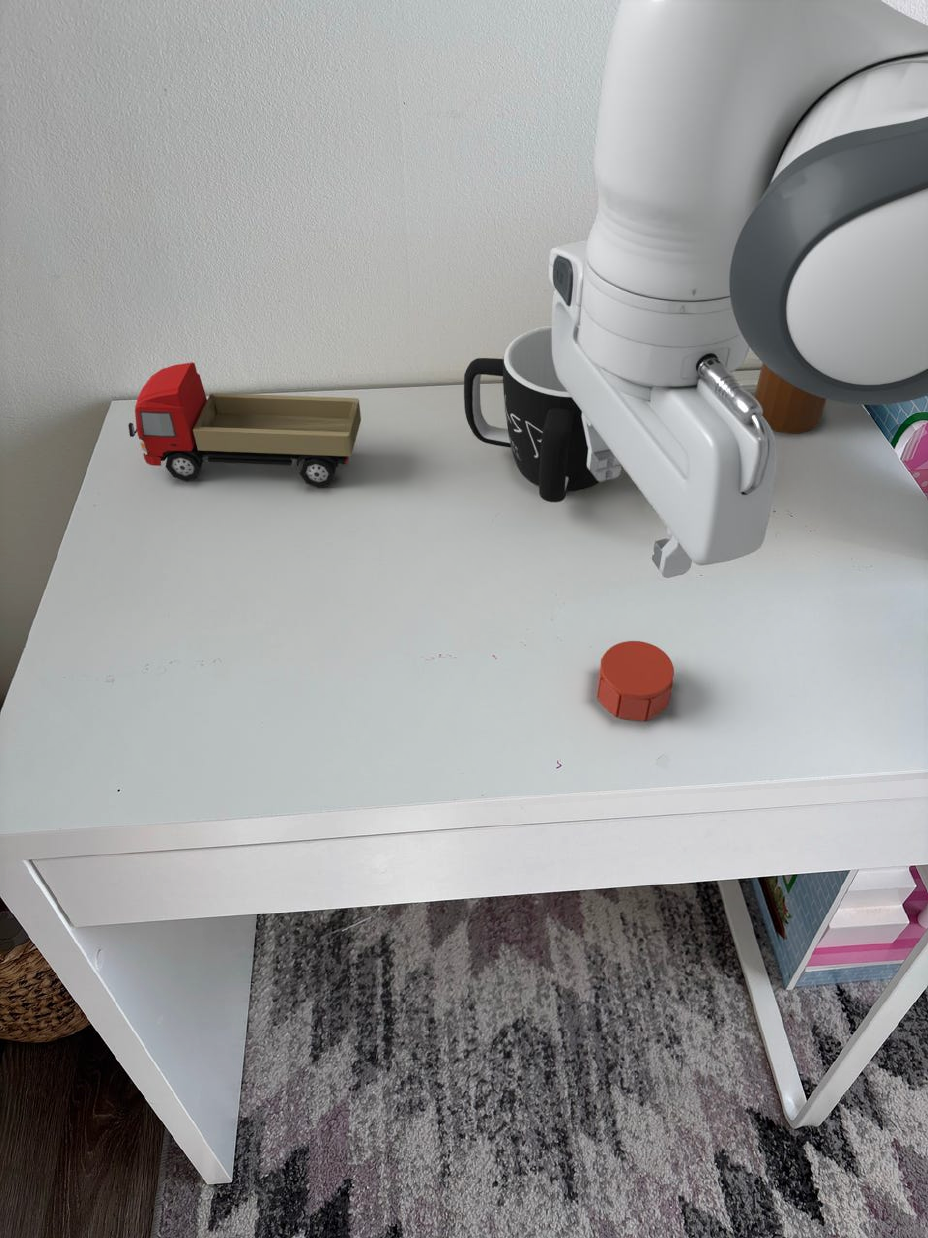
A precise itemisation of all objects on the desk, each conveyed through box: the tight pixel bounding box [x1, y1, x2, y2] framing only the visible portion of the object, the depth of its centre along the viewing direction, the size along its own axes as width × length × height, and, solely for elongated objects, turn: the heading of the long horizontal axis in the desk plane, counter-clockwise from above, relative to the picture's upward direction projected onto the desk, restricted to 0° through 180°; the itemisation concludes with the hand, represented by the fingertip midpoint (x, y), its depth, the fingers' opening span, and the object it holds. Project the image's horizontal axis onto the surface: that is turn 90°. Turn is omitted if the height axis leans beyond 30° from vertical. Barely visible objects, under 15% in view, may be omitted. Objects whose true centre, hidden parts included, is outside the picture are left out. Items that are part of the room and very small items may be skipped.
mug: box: [463, 324, 601, 503], centre depth 90 cm, size 16×16×12 cm
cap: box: [596, 640, 675, 722], centre depth 73 cm, size 5×5×3 cm
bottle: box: [753, 362, 827, 434], centre depth 94 cm, size 7×7×16 cm
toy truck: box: [128, 361, 362, 489], centre depth 91 cm, size 7×21×10 cm, turn 85°
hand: (634, 518), depth 59 cm, fingers open, 8 cm apart
